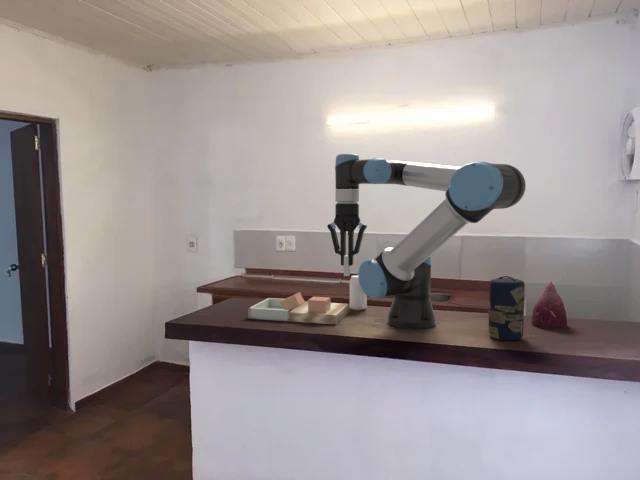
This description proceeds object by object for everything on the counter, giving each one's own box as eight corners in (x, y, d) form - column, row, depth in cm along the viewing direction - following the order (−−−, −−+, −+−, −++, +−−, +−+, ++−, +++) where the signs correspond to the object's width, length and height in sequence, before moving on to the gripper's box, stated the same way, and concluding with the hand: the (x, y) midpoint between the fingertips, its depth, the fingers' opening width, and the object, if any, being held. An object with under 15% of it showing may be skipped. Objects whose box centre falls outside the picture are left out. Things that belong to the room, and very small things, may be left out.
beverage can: (346, 309, 188) (346, 276, 187) (356, 306, 193) (356, 274, 191) (359, 311, 184) (359, 278, 183) (370, 308, 188) (370, 276, 187)
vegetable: (536, 329, 170) (534, 284, 173) (570, 330, 164) (567, 283, 167) (527, 328, 162) (525, 280, 165) (563, 329, 156) (560, 279, 159)
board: (348, 312, 183) (348, 303, 183) (336, 324, 166) (336, 315, 166) (305, 309, 188) (305, 301, 187) (288, 321, 170) (288, 312, 170)
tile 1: (330, 309, 174) (330, 297, 174) (325, 313, 169) (325, 301, 168) (313, 308, 176) (313, 296, 176) (308, 312, 170) (308, 300, 170)
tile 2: (304, 302, 185) (299, 292, 185) (299, 305, 179) (294, 295, 179) (290, 308, 187) (285, 298, 187) (284, 312, 181) (280, 301, 181)
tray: (304, 309, 188) (304, 299, 187) (287, 321, 170) (287, 310, 170) (268, 307, 192) (268, 297, 191) (248, 318, 174) (248, 308, 174)
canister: (504, 344, 143) (506, 279, 142) (481, 335, 152) (482, 274, 150) (530, 340, 147) (532, 277, 146) (506, 332, 156) (507, 272, 154)
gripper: (369, 202, 168) (368, 274, 170) (330, 202, 172) (330, 273, 174) (364, 203, 161) (364, 278, 163) (324, 203, 165) (324, 276, 167)
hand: (347, 275), depth 169 cm, fingers closed
